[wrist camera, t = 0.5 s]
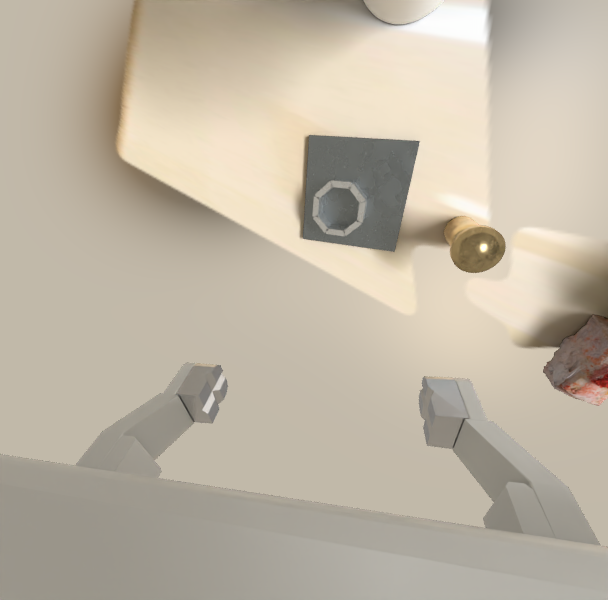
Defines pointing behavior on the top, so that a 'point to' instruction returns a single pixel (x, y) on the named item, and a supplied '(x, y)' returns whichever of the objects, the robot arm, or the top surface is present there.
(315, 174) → the flange base
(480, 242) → the brass fitting
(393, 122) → the top surface
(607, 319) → the food item
